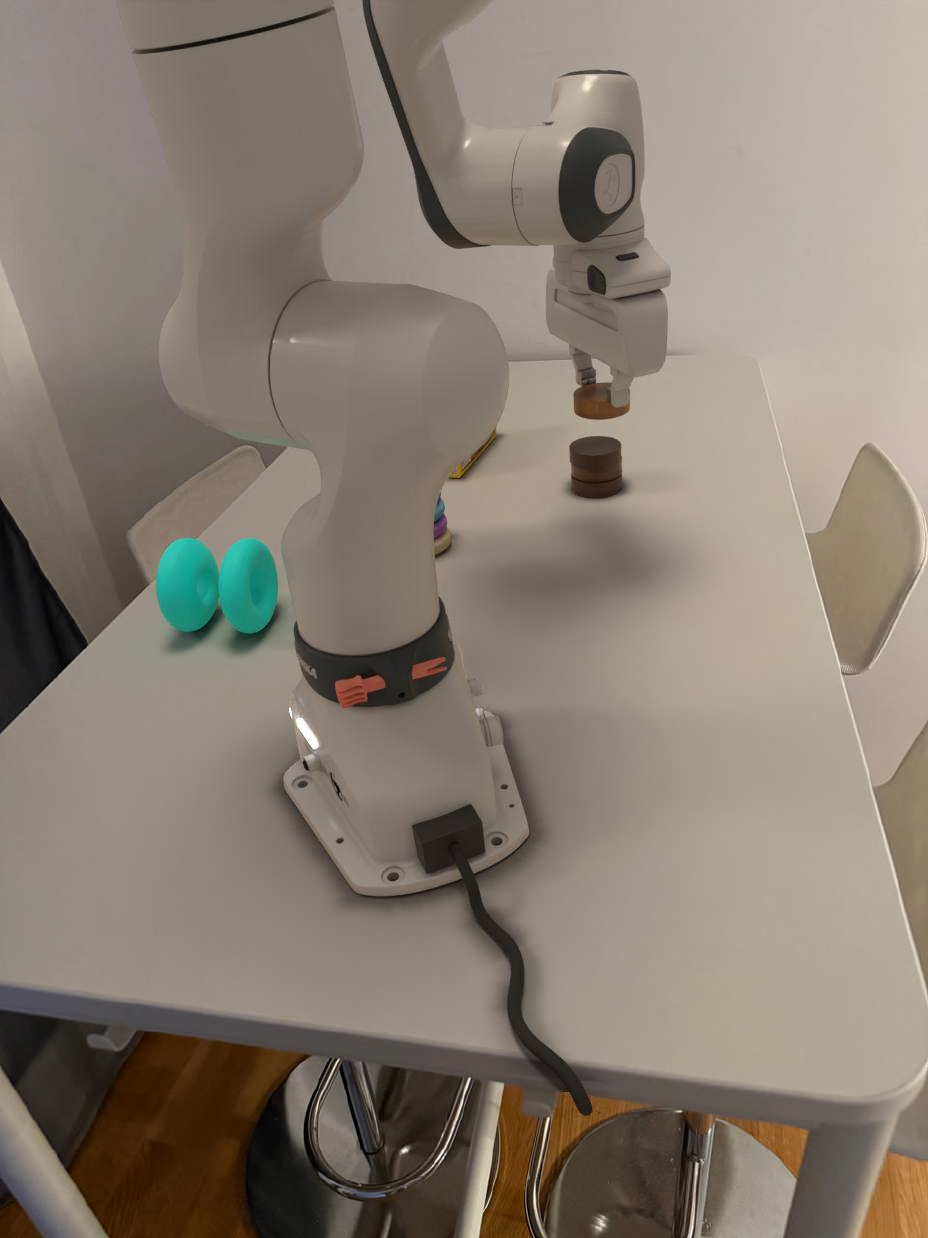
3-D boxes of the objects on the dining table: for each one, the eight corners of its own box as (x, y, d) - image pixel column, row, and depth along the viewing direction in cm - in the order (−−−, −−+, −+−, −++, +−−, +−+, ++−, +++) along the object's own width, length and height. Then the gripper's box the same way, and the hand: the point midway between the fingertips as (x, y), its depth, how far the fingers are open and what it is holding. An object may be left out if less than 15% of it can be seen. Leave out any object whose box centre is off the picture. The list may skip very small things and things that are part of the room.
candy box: (462, 479, 127) (456, 422, 123) (448, 478, 128) (442, 421, 123) (498, 436, 140) (495, 383, 135) (485, 435, 140) (481, 382, 136)
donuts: (255, 652, 94) (234, 567, 89) (167, 649, 96) (140, 566, 91) (288, 601, 102) (270, 521, 97) (206, 600, 104) (184, 521, 99)
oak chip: (640, 411, 97) (640, 393, 96) (589, 424, 96) (588, 405, 95) (613, 395, 102) (613, 378, 101) (564, 407, 101) (563, 389, 100)
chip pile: (633, 490, 119) (633, 447, 116) (584, 503, 117) (583, 459, 114) (607, 472, 125) (607, 430, 121) (560, 483, 123) (559, 441, 120)
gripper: (527, 248, 98) (535, 374, 106) (619, 283, 82) (620, 430, 89) (580, 238, 100) (584, 363, 107) (681, 271, 83) (677, 416, 91)
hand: (601, 394), depth 98 cm, fingers closed on oak chip, 6 cm apart
